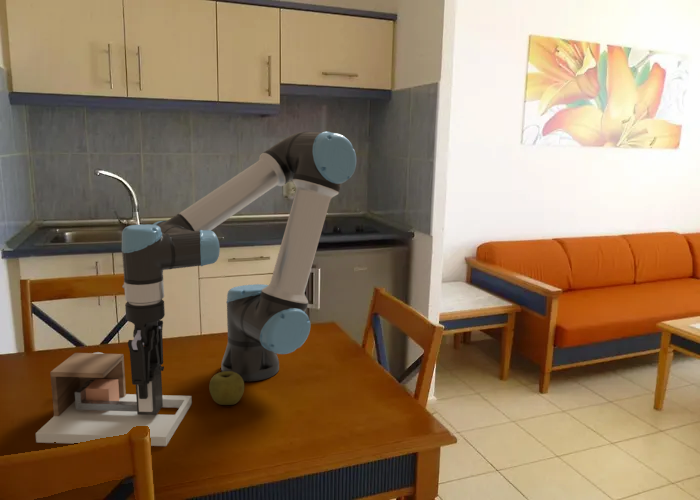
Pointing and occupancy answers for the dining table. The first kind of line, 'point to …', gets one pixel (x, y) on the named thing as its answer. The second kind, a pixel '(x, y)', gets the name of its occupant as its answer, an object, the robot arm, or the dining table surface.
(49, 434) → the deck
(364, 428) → the dining table surface
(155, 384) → the grey u-shaped bracket
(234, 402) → the apple
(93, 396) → the cube
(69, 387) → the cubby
